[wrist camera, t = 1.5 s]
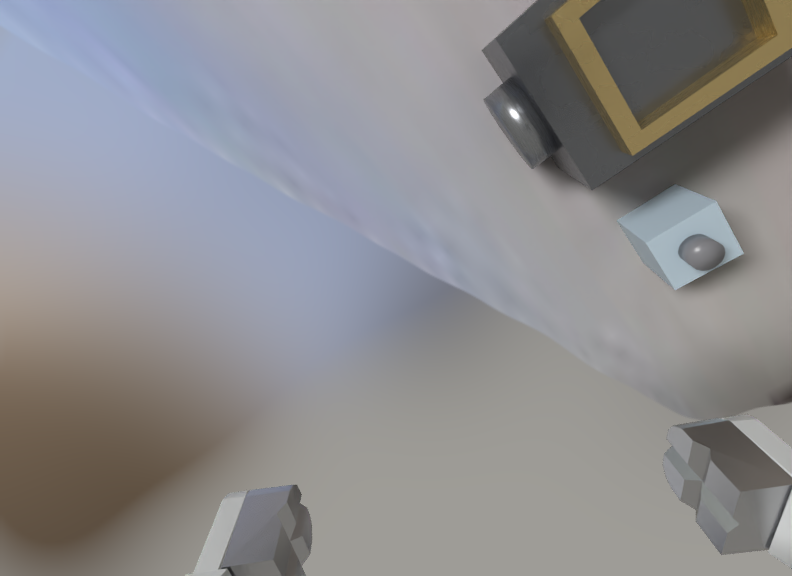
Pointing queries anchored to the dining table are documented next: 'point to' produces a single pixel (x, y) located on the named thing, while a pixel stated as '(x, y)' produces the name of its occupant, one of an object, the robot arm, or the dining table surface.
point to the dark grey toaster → (625, 74)
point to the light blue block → (680, 235)
